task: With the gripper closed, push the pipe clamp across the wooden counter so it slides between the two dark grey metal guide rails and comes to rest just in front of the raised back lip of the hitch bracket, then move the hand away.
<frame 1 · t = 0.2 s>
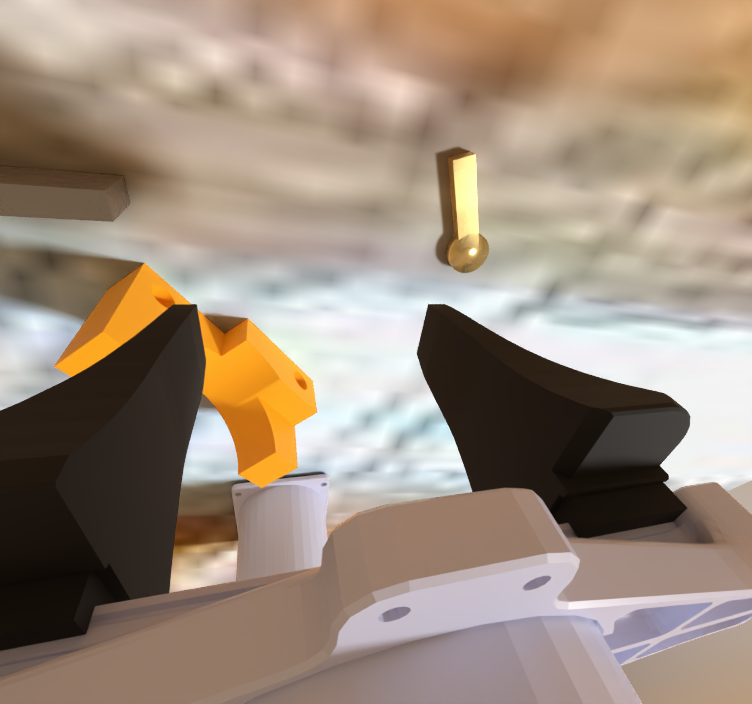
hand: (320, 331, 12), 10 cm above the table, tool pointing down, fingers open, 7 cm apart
hitch bracket: (51, 344, 20), on the table
pipe clamp: (225, 338, 23), on the table
brass spoon: (461, 202, 21), on the table
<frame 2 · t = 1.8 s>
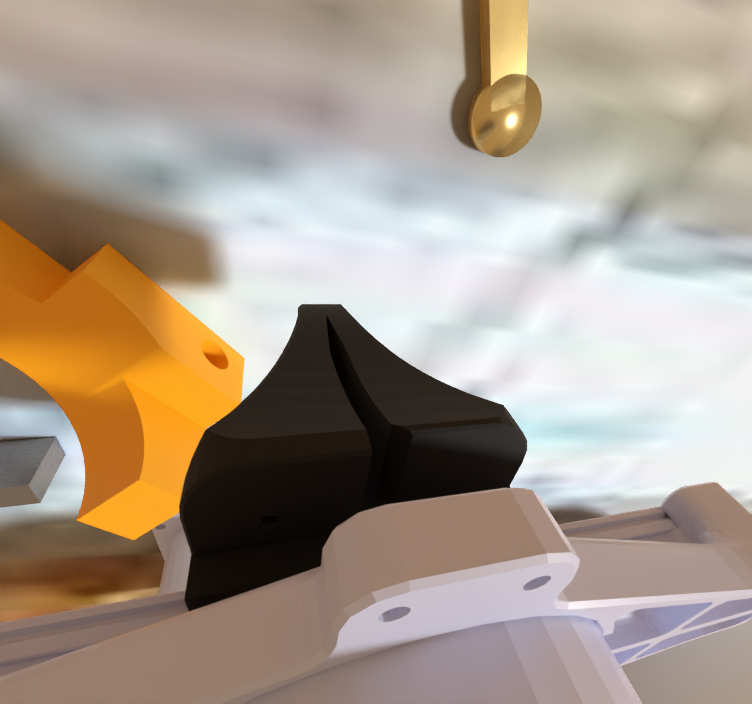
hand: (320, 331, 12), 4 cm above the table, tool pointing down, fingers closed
pipe clamp: (79, 283, 14), on the table
brass spoon: (495, 11, 12), on the table
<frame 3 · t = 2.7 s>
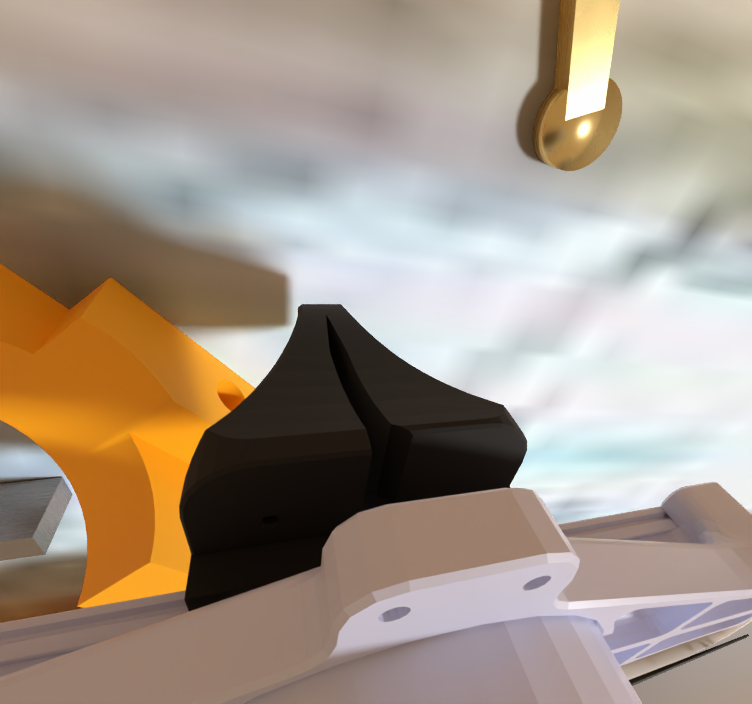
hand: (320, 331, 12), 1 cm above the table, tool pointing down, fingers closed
ramen bowl: (578, 578, 40), on the table
pipe clamp: (79, 321, 12), on the table
brass spoon: (577, 2, 10), on the table
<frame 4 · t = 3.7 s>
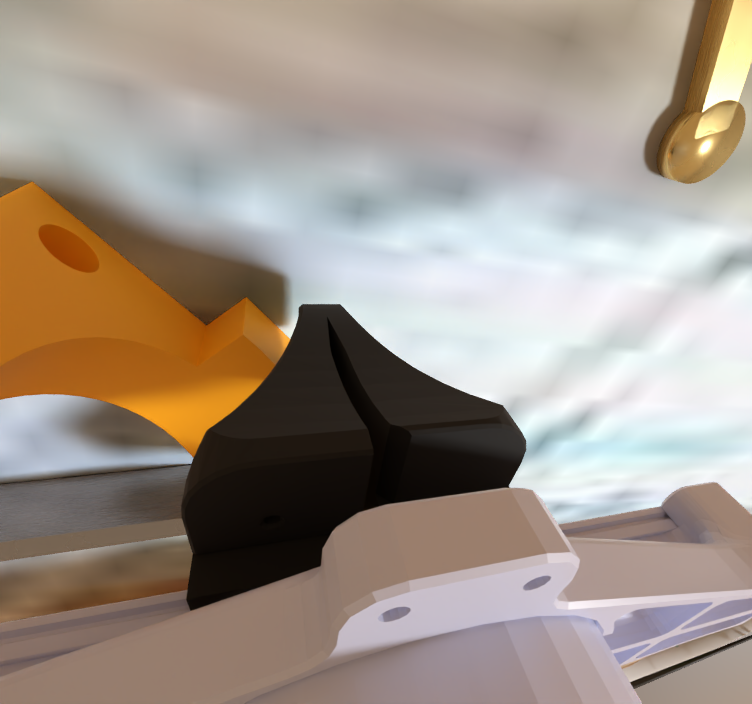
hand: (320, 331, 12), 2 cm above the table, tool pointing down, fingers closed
ramen bowl: (616, 569, 41), on the table
pipe clamp: (209, 334, 13), on the table, touching gripper
brass spoon: (716, 35, 11), on the table
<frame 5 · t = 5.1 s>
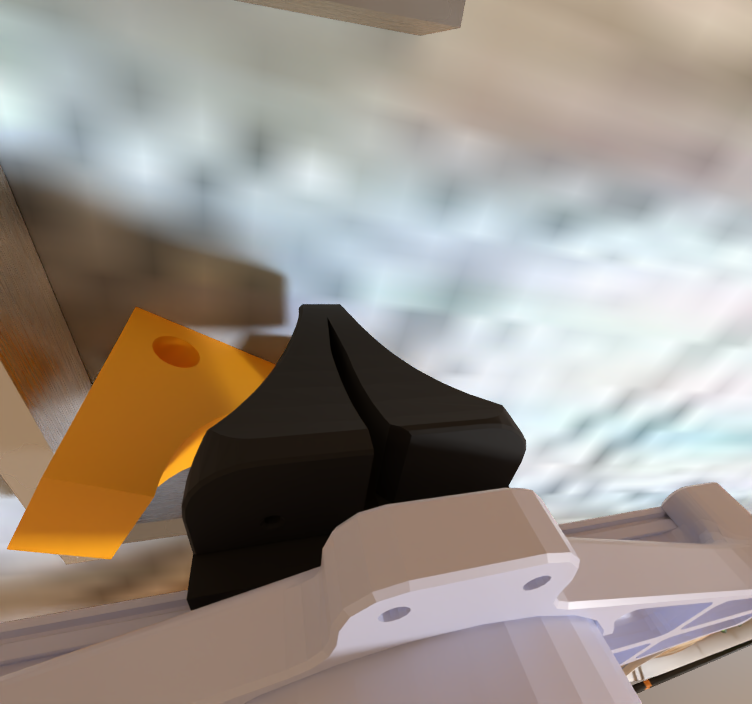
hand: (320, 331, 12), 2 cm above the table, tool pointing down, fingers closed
ramen bowl: (668, 559, 43), on the table
hitch bracket: (220, 309, 13), on the table
pipe clamp: (294, 377, 15), on the table, touching gripper
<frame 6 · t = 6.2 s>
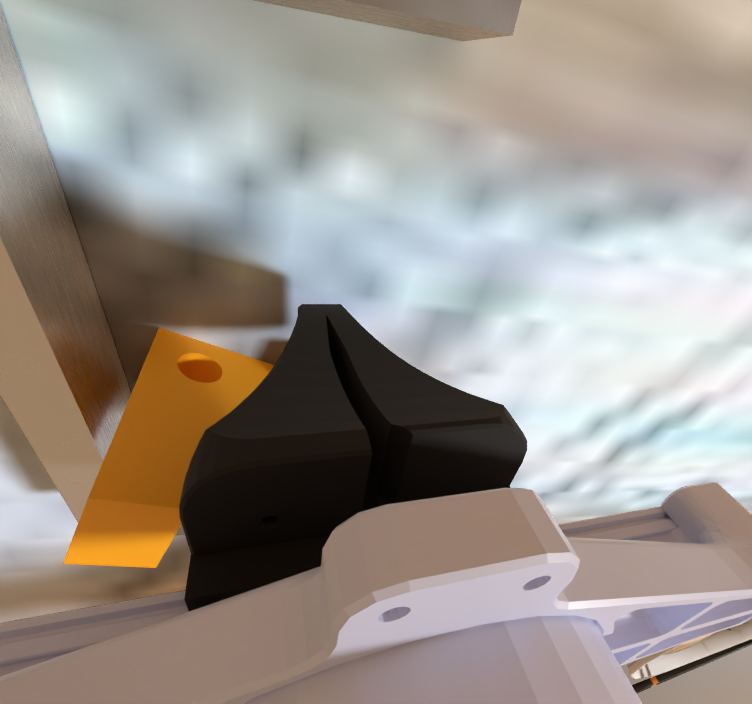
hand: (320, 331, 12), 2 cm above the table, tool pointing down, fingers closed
ramen bowl: (674, 557, 43), on the table
hitch bracket: (255, 308, 13), on the table
pipe clamp: (314, 381, 16), on the table
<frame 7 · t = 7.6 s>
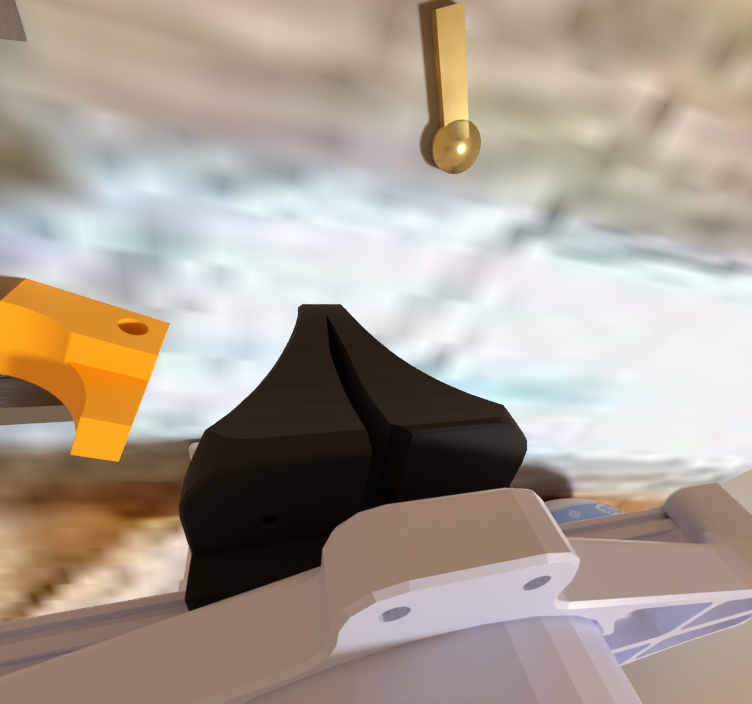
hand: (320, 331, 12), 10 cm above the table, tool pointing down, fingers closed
ramen bowl: (524, 517, 47), on the table
pipe clamp: (35, 313, 20), on the table
brass spoon: (447, 79, 18), on the table
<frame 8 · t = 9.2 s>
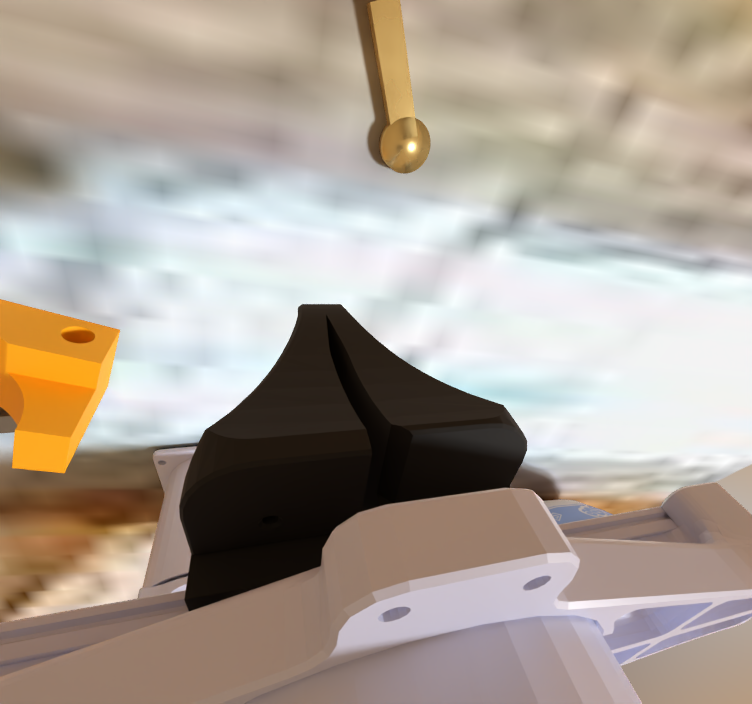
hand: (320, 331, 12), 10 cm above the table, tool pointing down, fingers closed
ramen bowl: (510, 518, 47), on the table
brass spoon: (391, 75, 17), on the table
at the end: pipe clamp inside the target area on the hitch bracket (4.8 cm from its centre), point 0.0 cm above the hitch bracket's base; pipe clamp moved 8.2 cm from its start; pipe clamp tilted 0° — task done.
